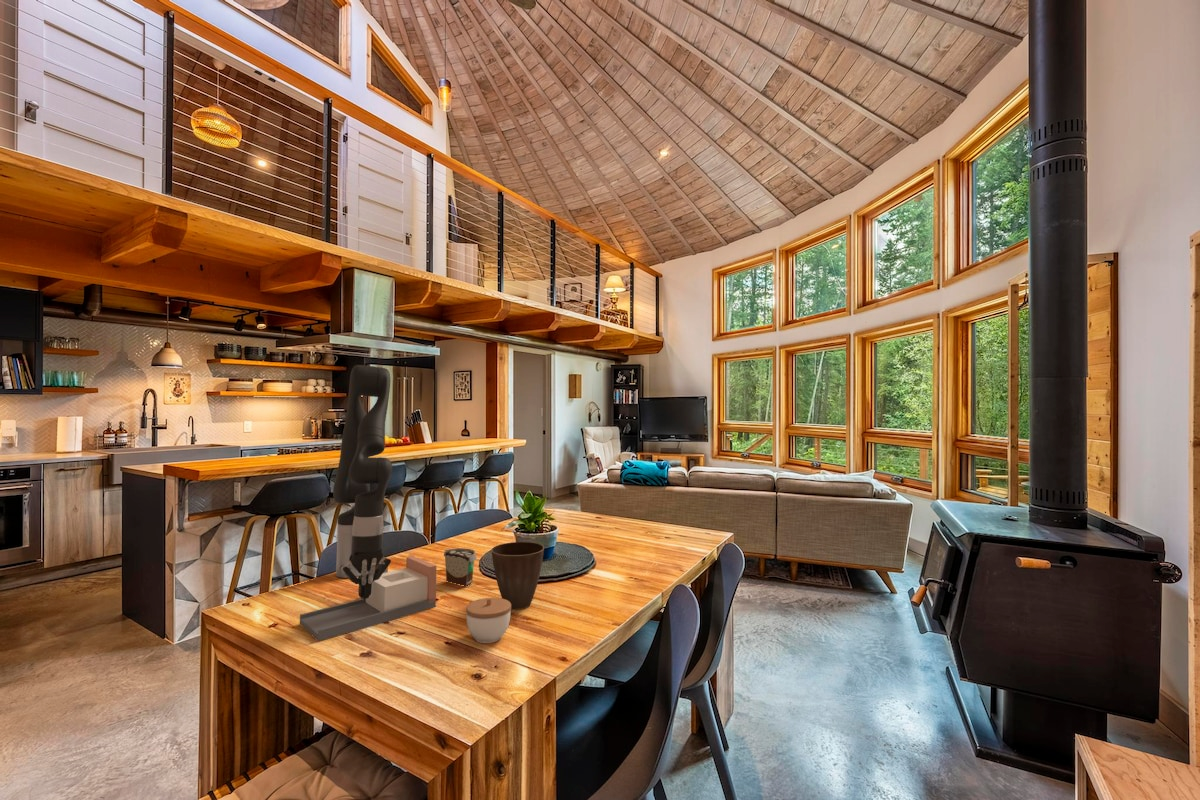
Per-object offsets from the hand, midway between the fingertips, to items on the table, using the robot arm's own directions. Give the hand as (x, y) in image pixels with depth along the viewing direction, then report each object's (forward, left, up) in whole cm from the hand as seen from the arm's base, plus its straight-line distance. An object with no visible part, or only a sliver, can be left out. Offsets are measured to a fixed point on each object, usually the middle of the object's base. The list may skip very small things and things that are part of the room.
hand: (364, 597), depth 132 cm
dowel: (-13, +10, -5) cm, 17 cm away
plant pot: (+22, +34, -5) cm, 41 cm away
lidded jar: (+34, +16, -5) cm, 38 cm away
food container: (-6, +34, -5) cm, 35 cm away
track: (0, +2, -5) cm, 5 cm away
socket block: (0, +9, -3) cm, 9 cm away
